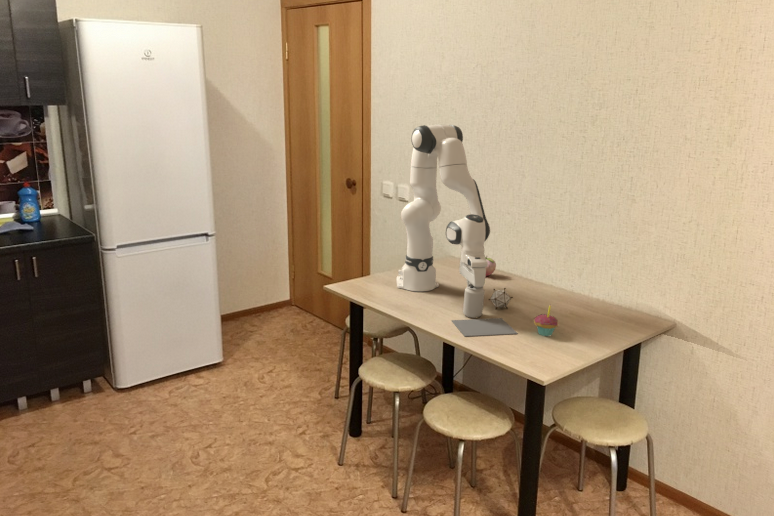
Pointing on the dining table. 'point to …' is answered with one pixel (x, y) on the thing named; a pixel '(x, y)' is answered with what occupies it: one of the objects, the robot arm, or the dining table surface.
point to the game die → (500, 298)
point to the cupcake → (546, 323)
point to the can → (473, 301)
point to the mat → (483, 327)
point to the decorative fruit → (490, 266)
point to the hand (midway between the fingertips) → (470, 291)
